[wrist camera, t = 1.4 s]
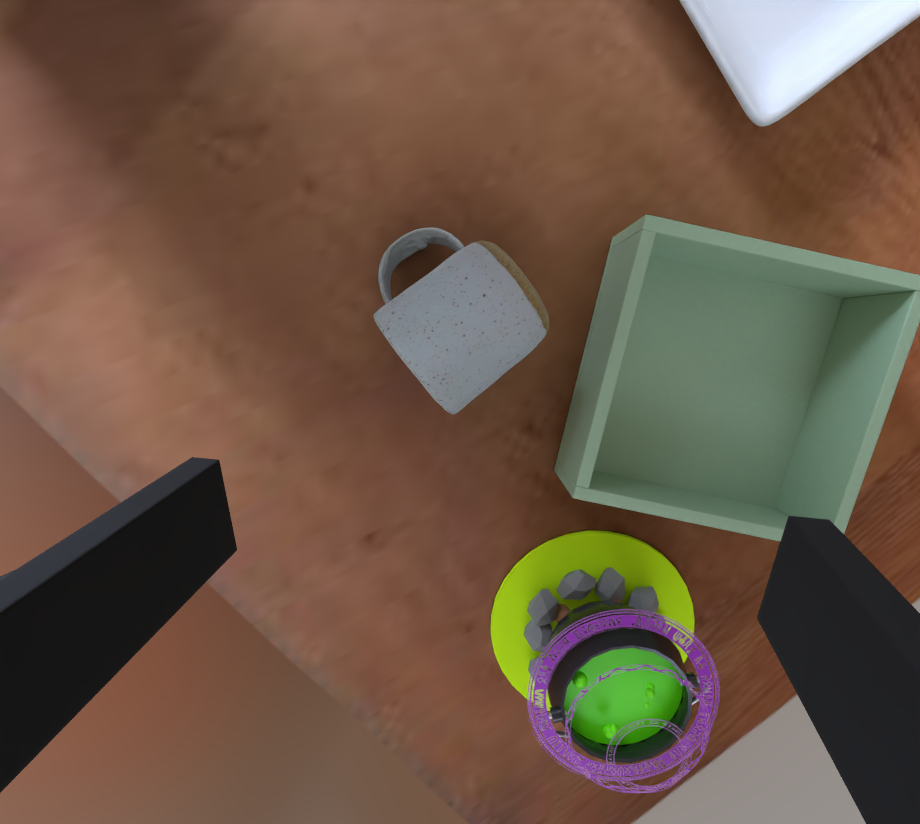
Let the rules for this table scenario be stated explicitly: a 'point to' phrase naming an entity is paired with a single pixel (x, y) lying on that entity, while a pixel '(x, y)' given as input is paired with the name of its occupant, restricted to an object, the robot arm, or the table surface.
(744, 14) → the tray
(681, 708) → the toy cauldron
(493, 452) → the table surface
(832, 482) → the bin
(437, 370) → the ceramic mug
